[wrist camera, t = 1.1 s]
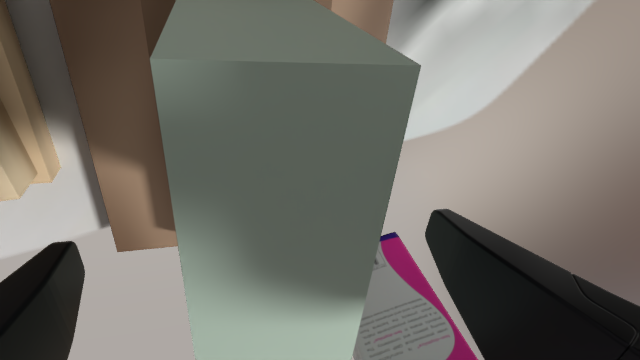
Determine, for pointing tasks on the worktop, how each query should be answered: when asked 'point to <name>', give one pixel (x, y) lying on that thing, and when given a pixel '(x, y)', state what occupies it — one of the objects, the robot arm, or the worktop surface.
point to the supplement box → (405, 313)
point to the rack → (141, 103)
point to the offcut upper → (13, 161)
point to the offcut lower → (24, 102)
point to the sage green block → (277, 170)
